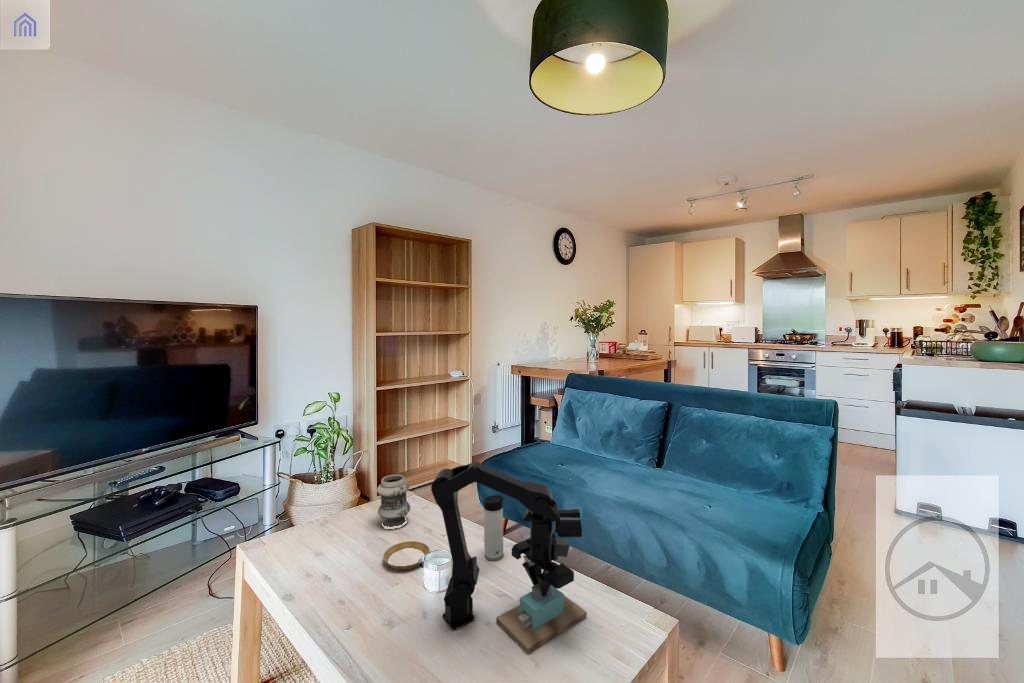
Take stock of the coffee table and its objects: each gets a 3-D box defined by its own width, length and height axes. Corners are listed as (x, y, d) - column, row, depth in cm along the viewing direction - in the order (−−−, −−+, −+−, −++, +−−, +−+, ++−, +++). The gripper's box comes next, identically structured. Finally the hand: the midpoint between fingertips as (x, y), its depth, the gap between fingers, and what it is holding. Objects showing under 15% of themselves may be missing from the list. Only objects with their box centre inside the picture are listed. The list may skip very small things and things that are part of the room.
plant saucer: (405, 544, 148) (405, 537, 148) (438, 554, 142) (438, 547, 141) (373, 566, 135) (373, 558, 135) (408, 579, 128) (408, 571, 128)
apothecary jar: (385, 515, 169) (384, 471, 168) (414, 516, 168) (413, 472, 167) (372, 530, 157) (371, 483, 156) (404, 532, 156) (402, 484, 155)
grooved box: (534, 629, 105) (534, 598, 104) (519, 616, 110) (519, 586, 109) (563, 612, 111) (563, 583, 110) (548, 600, 116) (548, 572, 115)
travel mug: (502, 562, 136) (501, 502, 135) (482, 560, 138) (481, 500, 136) (506, 551, 142) (505, 494, 141) (487, 549, 144) (486, 492, 143)
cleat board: (527, 654, 99) (527, 640, 99) (496, 622, 110) (496, 609, 109) (586, 617, 111) (586, 604, 111) (553, 591, 122) (553, 580, 121)
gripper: (589, 540, 106) (589, 600, 107) (541, 513, 121) (541, 565, 122) (557, 556, 100) (557, 619, 101) (510, 525, 115) (510, 580, 116)
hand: (541, 593), depth 110 cm, fingers closed on grooved box
